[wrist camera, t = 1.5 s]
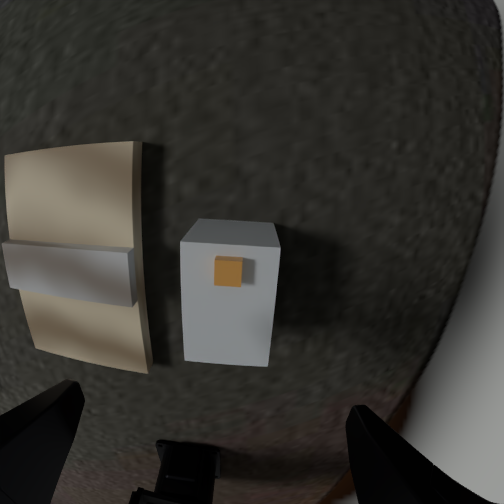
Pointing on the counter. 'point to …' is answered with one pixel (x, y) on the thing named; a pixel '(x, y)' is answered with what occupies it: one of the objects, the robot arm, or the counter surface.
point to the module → (229, 291)
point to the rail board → (80, 251)
